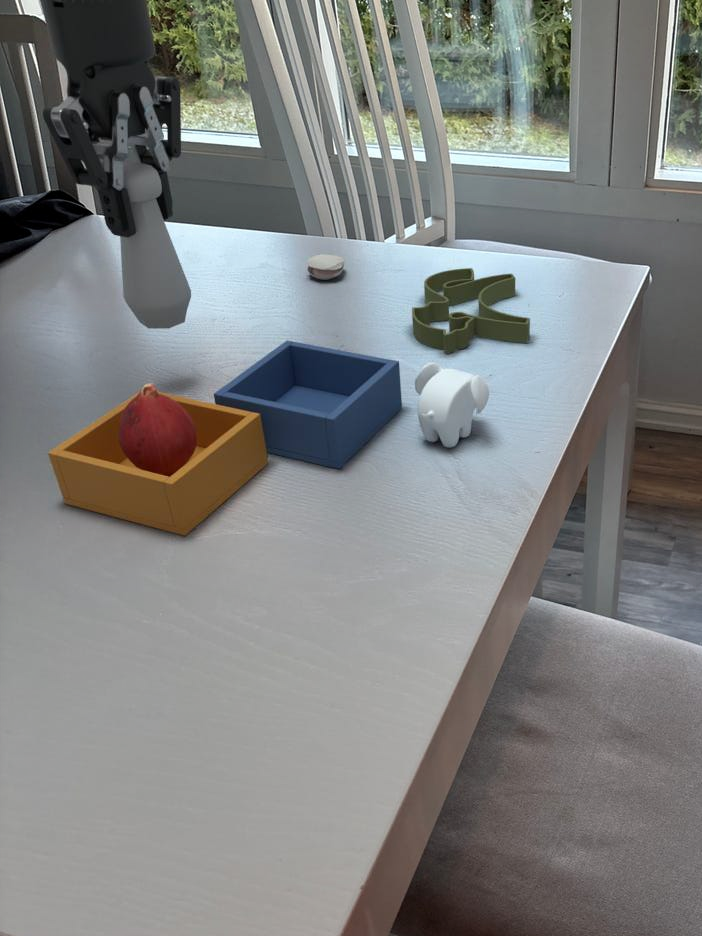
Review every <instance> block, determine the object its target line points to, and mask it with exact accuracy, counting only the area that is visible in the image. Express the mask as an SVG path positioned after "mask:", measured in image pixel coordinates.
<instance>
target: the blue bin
mask: <svg viewBox="0 0 702 936" xmlns="http://www.w3.org/2000/svg"><path fill="white" fill-rule="evenodd" d="M400 369H401V368H400V361H399V360H394V359H390V358H383V357H378V356H373V355H368V354H362V353H357V352H351V351H347V350H340V349H335V348H330V347H324V346H320V345H314V344H309V343H304V342H298V341H293V340H285V341H284V342H282V343H281V344H280V345H278V346H276V347H275V348H274V349H273V350H271V351H270V352H268V353H267V354H266V355H265V356H263V357H262V358H260V359H259V360H258V361H256V362H255V363H253V365H251V366H250V367H248V368H247V369H245V370H244V371H243V372H242V373H240V374H239V375H237V376H236V377H234V378H233V379H232V380H230V381H229V382H227V383H226V384H225V385H223V386H222V387H221V388H219V389H218V390H217V391H215V392H214V393H213V399H214V404H217V405H222V406H226V407H231V408H235V409H240V410H245V411H249V412H254V413H259V414H260V416H261V422H262V428H263V434H264V439H265V445H266V451H267V454H273V455H277V456H281V457H285V458H289V459H294V460H298V461H304V462H307V463H312V464H314V465H319V466H325V467H327V468H328V467H329V468H334V469H338V470H340V469H341V468H343V466H345V465H346V463H348V461H350V459H352V458H353V457H354V456H355V455H356V454H357V453H358V452H359V451H360V450H361V449H362V448H363V447H364V446H365V445H366V444H367V443H368V442H369V441H370V440H371V439H372V438H373V437H375V436H376V435H377V433H379V431H380V430H382V429H383V427H384V426H386V424H387V423H389V422H390V421H391V420H392V419H393V418H394V417H395V416H396V415H397V414H398V413H399V412H400V411H401V410H402V409H403V406H402V405H403V403H402V402H403V401H402V386H401V370H400Z"/></svg>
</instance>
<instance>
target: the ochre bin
mask: <svg viewBox="0 0 702 936" xmlns="http://www.w3.org/2000/svg"><path fill="white" fill-rule="evenodd" d="M139 392H140V391H138V392H137V393H135V394H134V395H132V396H131V397H129V398H128V399H126V400H125V401H123V402H122V403H120V404H119V405H117V406H116V407H114V408H112V409H111V410H110V411H108V412H107V413H105V414H104V415H102V416H101V417H99V418H98V419H95V421H93V422H92V423H90V424H89V425H87V426H86V427H84V428H83V429H81V430H80V431H78V432H77V433H75V434H73V435H72V436H71V437H69V438H67V439H66V440H65V441H63V442H62V443H60V444H59V445H57V446H56V447H53V448H52V449H51V450H49V451H48V452H47V455H48V457H49V461H50V465H51V466H52V470H53V473H54V475H55V477H56V482H57V484H58V487H59V489H60V493H61V496H62V499H63V502H64V504H65V505H68V506H69V505H70V506H71V507H72V506H73V507H77V508H80V509H83V510H88V511H92V512H94V513H98V514H102V515H106V516H110V517H113V518H118V519H120V520H125V521H129V522H132V523H136V524H140V525H143V526H147V527H151V528H155V529H158V530H161V531H166V532H168V533H169V532H170V533H172V534H175V535H176V534H177V535H179V536H184V537H185V536H187V535H188V534H189V533H190V532H191V531H193V530H195V528H197V526H199V525H200V523H202V522H203V521H204V520H205V519H206V518H208V517H209V516H210V515H211V514H212V513H213V512H214V511H216V510H217V509H218V508H219V507H220V506H221V505H222V504H224V503H225V502H226V501H227V500H228V499H229V498H230V497H232V495H234V494H235V493H236V492H237V491H239V490H240V489H241V488H242V487H243V486H244V485H245V484H246V483H248V482H249V481H250V480H251V479H252V478H253V477H255V475H257V474H259V472H260V471H261V470H262V469H264V468H265V467H266V466H267V465H268V464H269V457H268V452H267V451H266V445H265V439H264V434H263V428H262V422H261V416H260V414H259V413H254V412H249V411H245V410H240V409H235V408H231V407H226V406H222V405H217V404H215V403H212V402H208V401H203V400H198V399H193V398H188V397H185V396H180V395H175V394H171V393H166V392H161V391H157V393H158V394H161V395H164V396H167V397H169V398H171V399H173V400H175V401H176V402H177V403H179V404H180V405H181V406H182V407H183V408H184V409H185V410H186V411H187V412H188V414H189V415H190V417H191V418H192V420H193V422H194V425H195V428H196V436H197V445H196V448H195V451H194V453H193V455H192V456H191V458H190V459H189V460H188V461H187V462H186V464H185V465H184V466H182V467H181V468H180V469H179V470H178V471H177V472H175V473H174V474H173V475H172V476H170V477H168V476H164V475H160V474H156V473H152V472H148V471H144V470H142V469H139V468H137V467H136V466H135V465H134V464H133V463H132V462H131V461H130V460H129V459H128V458H127V457H126V455H125V454H124V453H123V451H122V448H121V446H120V444H119V436H118V432H119V424H120V418H121V415H122V413H123V411H124V409H125V407H126V406H127V405H128V403H129V402H130V401H131V400H133V399H134V398H135V397H136V396H137V395H138V394H139Z"/></svg>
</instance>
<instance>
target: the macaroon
mask: <svg viewBox="0 0 702 936" xmlns="http://www.w3.org/2000/svg"><path fill="white" fill-rule="evenodd" d="M306 265H307V272H308V273H309V274H310V276H312V277H313V278H315V279H317V280H323V281H326V280H327V281H328V280H331V279H334V278H336V277H338V276H339V275H341V273H342V272H343V270H344V267H345V259H344V257H341V256H339V255H334V254H325V253H320V254H316V255H313V256H312V257H310V258H308V259H307V261H306Z"/></svg>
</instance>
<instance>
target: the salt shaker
mask: <svg viewBox="0 0 702 936" xmlns="http://www.w3.org/2000/svg"><path fill="white" fill-rule="evenodd" d="M107 172H109V170H108V171H107ZM123 188H126V189H127V191H128V196H129V200H130V205H131V209H132V214H133V218H134V223H135V227H136V234H135V235H133V236H131V237H122V236H119V239H120V241H119V242H120V259H121V279H122V296H123V299H124V301H125V303H126V305H127V307H128V308H129V309H130V310H131V313H132V314H133V316H134V317H135V318H136V320H138V323H140V324H141V325H143V326H144V327H145V328H147V329H150V330H151V329H152V330H153V329H156V330H157V329H159V330H160V329H162V330H163V329H164V330H165V329H166V330H167V329H171V328H174V327H176V326H179V325H181V324H183V323H185V322H186V318H187V310H188V308H189V305H190V301H191V299H192V289H191V286H190V284H189V281H188V279H187V276H186V275H185V274H186V273H185V271H184V269H183V266H182V264H181V261H180V259H179V257H178V256H179V255H178V253H177V251H176V249H175V246H174V243H173V240H172V238H171V236H170V233H169V231H168V228H167V226H166V223H165V220H163V217H162V214H161V211H160V209H159V206H158V203H157V200H156V198H157V197H159V196H160V194H161V193H162V185H161V179H160V177H159V174H158V172H157V171H156V169H154V168H153V167H152V166H151V165H147V164H143V163H137V162H127V163H126V162H125V163H124V187H123Z"/></svg>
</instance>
